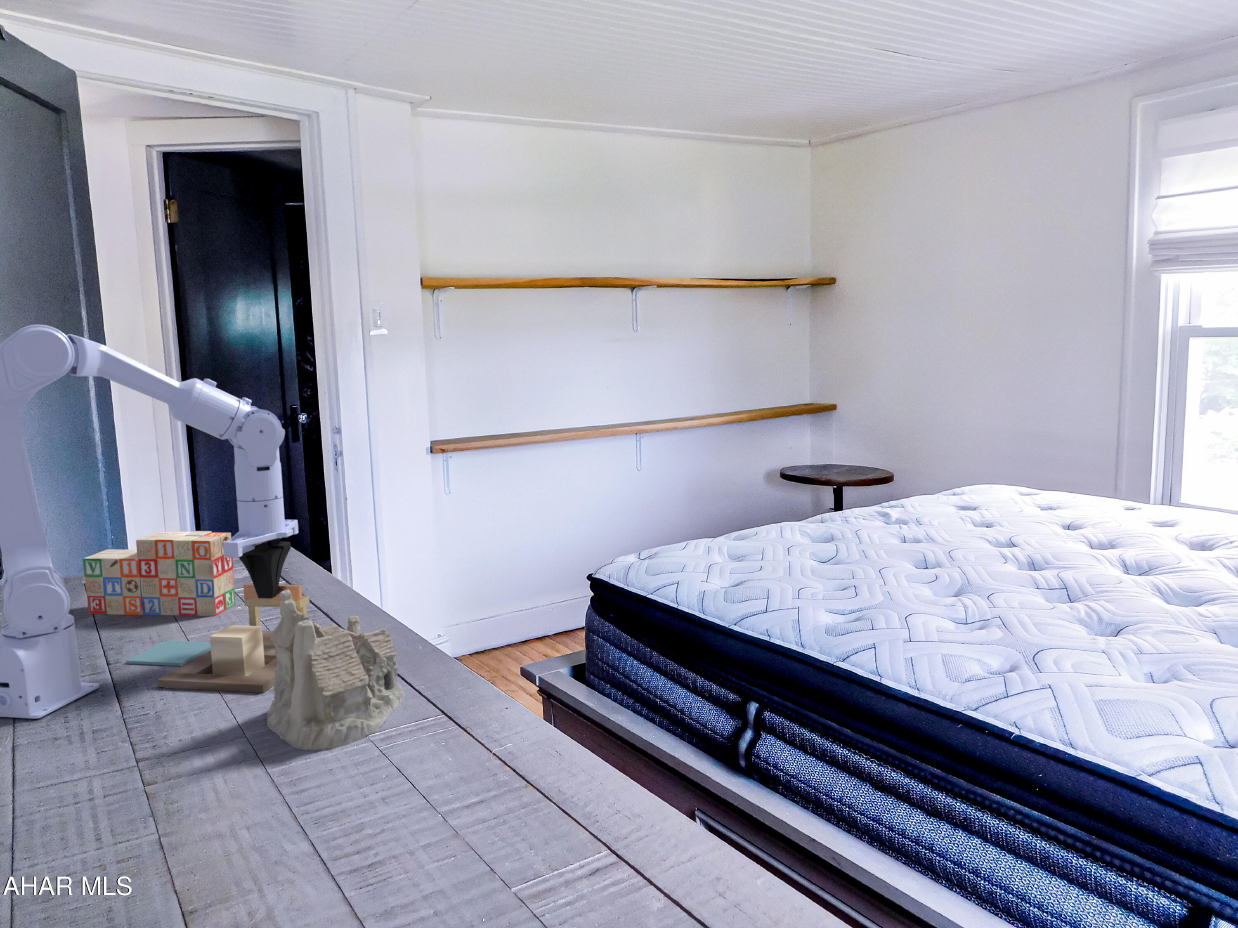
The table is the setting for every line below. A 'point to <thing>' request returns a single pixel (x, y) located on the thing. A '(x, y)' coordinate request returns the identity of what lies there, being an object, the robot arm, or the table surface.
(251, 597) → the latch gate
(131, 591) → the stack of blocks
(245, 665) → the birch block
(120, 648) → the table surface
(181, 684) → the puzzle board
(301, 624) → the ceramic cottage
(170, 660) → the teal square plate
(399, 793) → the table surface
